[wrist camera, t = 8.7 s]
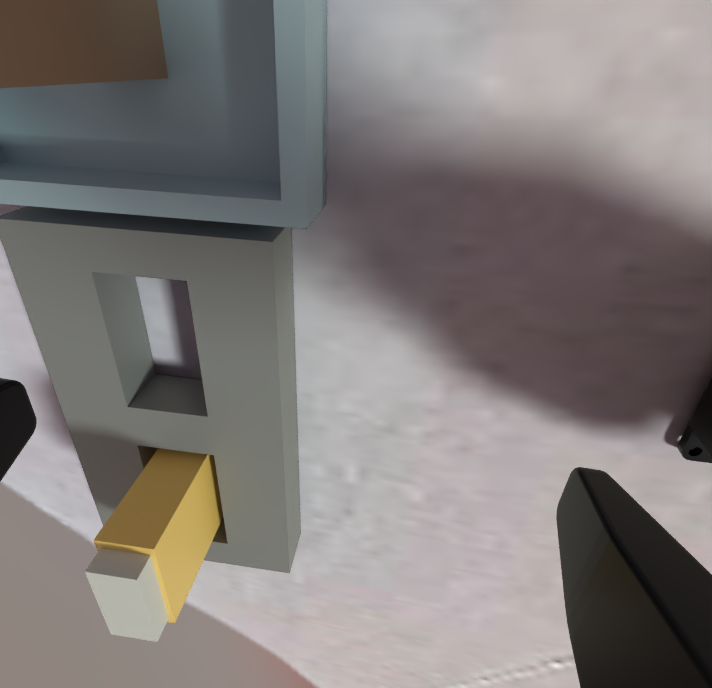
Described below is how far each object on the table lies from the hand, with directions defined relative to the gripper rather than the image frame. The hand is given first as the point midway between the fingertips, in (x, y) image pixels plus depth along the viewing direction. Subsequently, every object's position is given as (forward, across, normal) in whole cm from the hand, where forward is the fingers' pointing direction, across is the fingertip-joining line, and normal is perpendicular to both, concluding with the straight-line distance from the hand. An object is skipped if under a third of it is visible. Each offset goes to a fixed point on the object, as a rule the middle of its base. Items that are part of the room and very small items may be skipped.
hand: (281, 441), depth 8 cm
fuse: (+12, +8, +13) cm, 19 cm away
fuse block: (+11, +8, +9) cm, 17 cm away
